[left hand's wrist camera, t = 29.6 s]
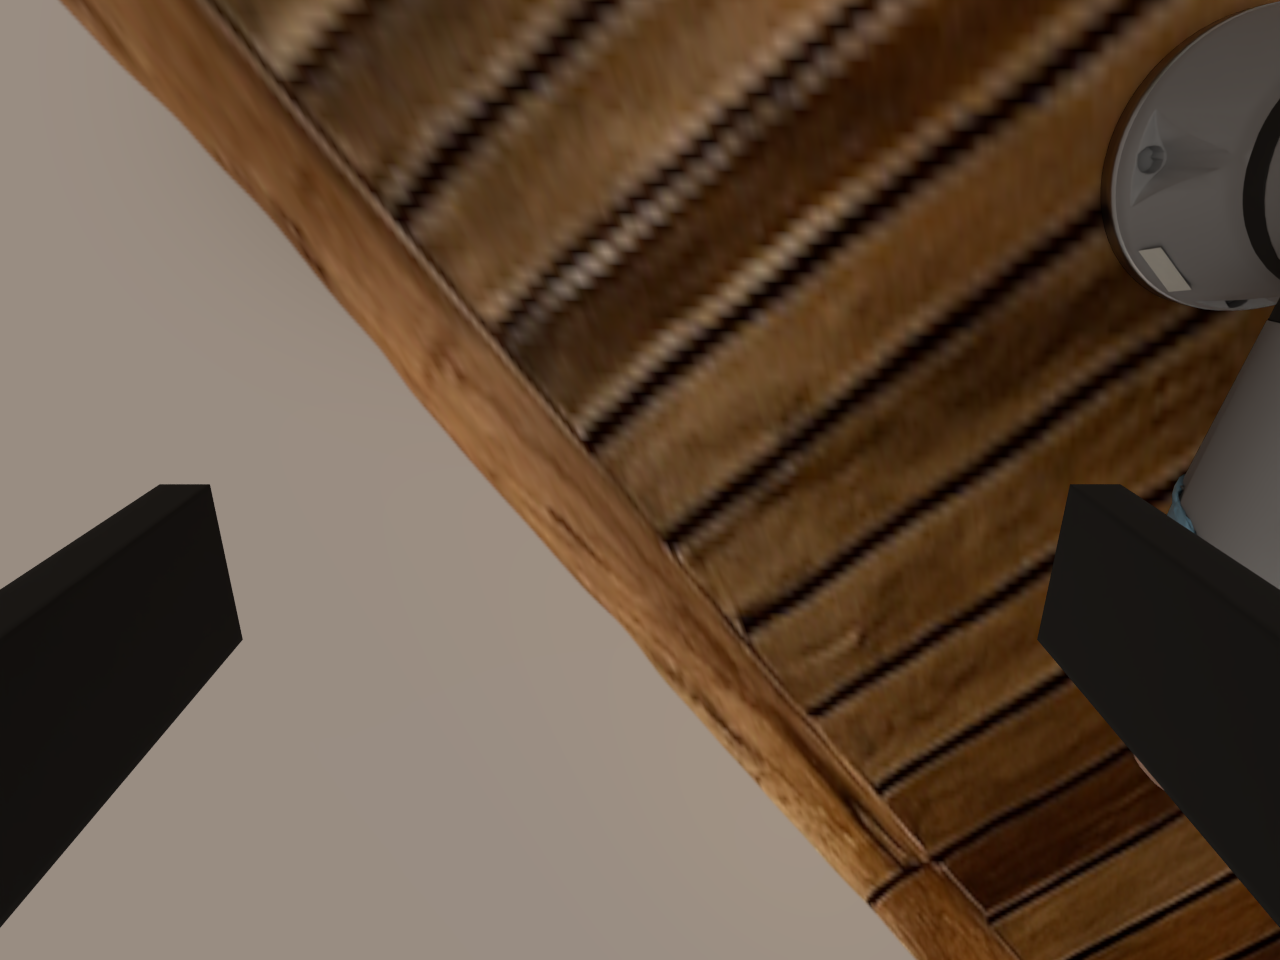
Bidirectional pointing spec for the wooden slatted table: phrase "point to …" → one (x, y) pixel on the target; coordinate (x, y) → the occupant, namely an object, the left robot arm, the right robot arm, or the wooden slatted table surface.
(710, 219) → the wooden slatted table surface
